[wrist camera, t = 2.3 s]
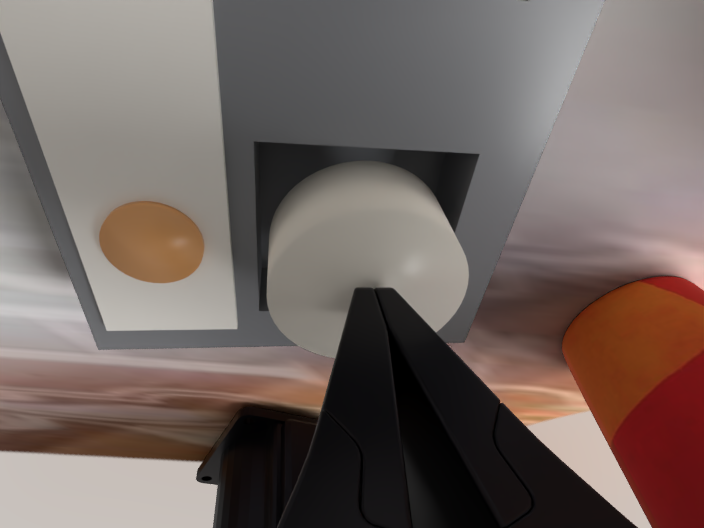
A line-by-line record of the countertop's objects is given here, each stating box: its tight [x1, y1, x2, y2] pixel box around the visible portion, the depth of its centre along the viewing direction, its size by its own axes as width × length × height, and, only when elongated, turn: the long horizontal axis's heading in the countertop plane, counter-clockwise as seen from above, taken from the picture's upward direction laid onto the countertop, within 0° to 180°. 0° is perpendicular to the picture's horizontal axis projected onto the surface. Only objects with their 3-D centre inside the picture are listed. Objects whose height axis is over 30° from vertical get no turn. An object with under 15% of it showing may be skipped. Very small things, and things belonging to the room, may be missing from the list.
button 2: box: [266, 161, 469, 358], centre depth 10 cm, size 4×4×2 cm
